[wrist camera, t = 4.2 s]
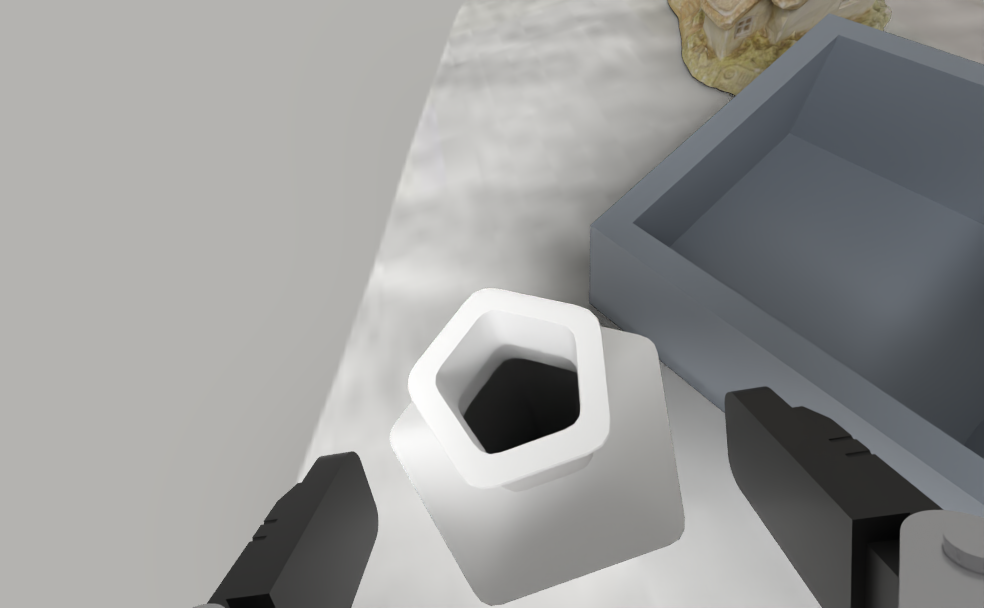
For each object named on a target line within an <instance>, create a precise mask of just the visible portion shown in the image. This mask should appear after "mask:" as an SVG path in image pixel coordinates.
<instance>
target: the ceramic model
mask: <svg viewBox="0 0 984 608" xmlns="http://www.w3.org/2000/svg"><path fill="white" fill-rule="evenodd" d="M668 3H669V5H670V7H671V8H672V10H673V11H674V12H675V14H676V15H677V16H678V18H679V29H680V31H681V39H682V58H683V60H684V62H685V64H686V65H687V67H688V69H689V71H690V73H691V74H692V76H693V77H695V78H696V79H697V80H699V81H700V82H703V83H704V84H706V85H707V86H709V87H714V88H716V87H717V88H718V89H719V90H721V91H725V92H729V93H732V94H734V95H737V94H739V93H740V92H741V91H742V90H743V89H744V88H745V87H746V86H748V85H749V84H750V83H751V82H752V81H753V80H754V79H755V78H757V77H758V76H759V75H760V74H761V73H762V72H763V71H764V70H766V69H767V68H768V67H769V66H770V65H771V64H772V63H773V62H775V61H776V60H777V59H778V58H779V57H780V56H781V55H782V54H784V53H785V52H786V51H787V50H788V49H789V48H790V47H791V46H793V45H794V44H795V43H796V42H797V41H798V40H799V39H800V38H802V37H803V36H804V35H805V34H806V33H807V32H808V31H809V30H811V29H812V28H813V27H814V26H815V25H816V24H817V23H818V22H820V21H821V20H822V19H823V18H824V17H825V16H826V15H827V14H829V13H830V14H833V15H836V16H839V17H842V18H845V19H848V20H851V21H854V22H857V23H860V24H863V25H866V26H869V27H872V28H875V29H878V30H881V31H884V26H885V25H886V24H887V23H888V22H889V20H890V18H891V10H890V7H887V5H886V4H885V1H884V0H668Z"/></svg>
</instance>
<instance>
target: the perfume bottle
mask: <svg viewBox="0 0 984 608" xmlns="http://www.w3.org/2000/svg"><path fill="white" fill-rule="evenodd" d="M408 390H409V393H410V396H411V398H412V402H411V403H410V404H409V406H408V407H407V408H406V410H405V411H404V412H403V413H402V415H401V416H400V417H399V419H398V420H397V421H396V422H395V424H394V426H393V428H392V429H391V431H390V443H391V446H392V449H393V451H394V453H395V454H396V456H397V458H398V460H399V461H400V463H401V465H402V467H403V468H404V470H405V472H406V474H407V475H408V477H409V479H410V481H411V482H412V484H413V486H414V488H415V490H416V491H417V493H418V495H419V497H420V498H421V500H422V502H423V504H424V505H425V507H426V509H427V511H428V512H429V514H430V516H431V518H432V519H433V521H434V523H435V525H436V527H437V528H438V530H439V532H440V534H441V535H442V537H443V539H444V541H445V542H446V544H447V546H448V548H449V549H450V551H451V553H452V555H453V556H454V558H455V560H456V562H457V564H458V565H459V567H460V569H461V571H462V572H463V574H464V576H465V578H466V579H467V581H468V583H469V585H470V586H471V588H472V590H473V592H474V593H475V594H476V595H477V597H478V598H479V599H480V600H481V602H484V603H486V604H488V605H491V606H493V605H501V604H505V603H507V602H510V601H513V600H516V599H519V598H521V597H524V596H527V595H530V594H533V593H536V592H538V591H541V590H544V589H547V588H550V587H553V586H555V585H558V584H561V583H564V582H567V581H569V580H572V579H575V578H578V577H581V576H584V575H586V574H589V573H592V572H595V571H598V570H601V569H603V568H606V567H609V566H612V565H615V564H618V563H620V562H623V561H626V560H629V559H632V558H634V557H637V556H640V555H643V554H646V553H649V552H651V551H654V550H657V549H660V548H663V547H666V546H668V545H671V544H672V543H674V542H675V541H677V540H679V539H680V537H681V535H682V533H683V531H684V521H685V517H684V511H683V505H682V499H681V492H680V486H679V480H678V474H677V468H676V462H675V456H674V449H673V443H672V437H671V431H670V425H669V419H668V413H667V406H666V400H665V394H664V388H663V382H662V376H661V370H660V363H659V357H658V352H657V350H656V347H655V344H654V343H653V342H652V341H651V340H649V339H648V338H646V337H644V336H641V335H638V334H633V333H629V332H624V331H620V330H615V329H611V328H606V327H602V326H600V323H599V319H598V318H597V317H596V316H595V315H594V314H593V313H592V312H591V311H590V310H588V309H585V308H583V307H580V306H577V305H574V304H569V303H564V302H559V301H555V300H550V299H545V298H540V297H536V296H531V295H526V294H522V293H517V292H512V291H507V290H503V289H495V288H484V289H482V290H479V291H476V292H474V293H473V294H472V295H471V296H470V297H469V298H468V299H467V300H466V301H465V302H464V303H463V305H462V306H461V307H460V308H459V310H458V311H457V312H456V314H455V315H454V316H453V317H452V319H451V320H450V321H449V322H448V324H447V325H446V326H445V327H444V329H443V330H442V331H441V332H440V334H439V335H438V336H437V337H436V339H435V340H434V341H433V342H432V344H431V345H430V346H429V347H428V349H427V350H426V351H425V352H424V354H423V355H422V356H421V357H420V359H419V360H418V361H417V362H416V364H415V366H414V367H413V369H412V371H411V373H410V374H409V379H408Z"/></svg>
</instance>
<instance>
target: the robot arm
mask: <svg viewBox="0 0 984 608" xmlns="http://www.w3.org/2000/svg"><path fill="white" fill-rule="evenodd" d="M724 403H725V418H726V431H727V445H728V457H729V463H730V467H731V470H732V473H733V476H734V478H735V481H736V483H737V485H738V487H739V488H740V490H741V491H742V493H743V494H744V496H745V497H746V498H747V500H748V501H749V503H750V504H751V506H752V507H753V509H754V510H755V511H756V513H757V514H758V516H759V517H760V519H761V520H762V522H763V523H764V524H765V526H766V527H767V529H768V530H769V532H770V533H771V535H772V536H773V537H774V539H775V540H776V542H777V543H778V545H779V546H780V548H781V549H782V550H783V552H784V553H785V555H786V556H787V558H788V559H789V561H790V562H791V564H792V565H793V566H794V568H795V569H796V571H797V572H798V574H799V575H800V577H801V578H802V579H803V581H804V582H805V584H806V585H807V587H808V588H809V590H810V591H811V592H812V594H813V595H814V597H815V598H816V600H817V601H818V603H819V604H820V605H821V607H822V608H984V518H983V517H979V516H976V515H972V514H968V513H963V512H958V511H949V510H943V509H942V508H941V507H940V506H938V505H937V504H936V503H935V502H933V501H932V500H931V499H930V498H929V497H927V496H926V495H925V494H924V493H922V492H921V491H920V490H919V489H917V488H916V487H915V486H914V485H913V484H911V483H910V482H909V481H908V480H906V479H905V478H904V477H903V476H901V475H900V474H899V473H898V472H896V471H895V470H894V469H893V468H892V467H890V466H889V465H888V464H887V463H885V462H884V461H883V460H882V459H880V458H879V457H878V456H877V455H876V454H871V452H870V450H869V449H868V448H867V447H866V446H864V445H863V444H862V443H861V442H859V441H858V440H857V439H853V437H852V435H851V434H850V433H848V432H847V431H846V430H845V429H843V428H842V427H841V426H840V425H838V424H837V423H836V422H835V421H834V420H832V419H831V418H829V417H826V416H824V415H822V414H820V413H817V412H815V411H813V410H810V409H808V408H806V407H804V406H800V407H793V408H792V407H791V406H790V405H789V404H788V403H786V402H785V401H784V400H783V399H782V398H781V397H780V396H779V395H777V394H776V393H775V392H774V391H773V390H772V389H770V388H769V387H767V386H763V387H756V388H750V389H744V390H738V391H731V392H727V393H726V395H725V401H724ZM377 532H378V512H377V508H376V504H375V501H374V498H373V496H372V493H371V490H370V487H369V484H368V481H367V478H366V475H365V472H364V469H363V466H362V463H361V461H360V458H359V456H358V455H357V454H356V453H355V452H346V453H340V454H333V455H327V456H321V457H319V458H318V459H317V460H316V462H315V463H314V465H313V466H312V468H311V469H310V471H309V472H308V474H307V475H306V477H305V478H304V480H303V481H302V483H298V484H296V485H295V486H294V487H293V488H292V489H291V490H290V491H289V492H287V493H286V494H285V495H284V496H283V497H282V498H281V499H280V500H278V501H277V503H276V504H275V506H274V507H273V509H272V510H271V511H270V513H269V514H268V516H267V517H266V519H265V520H264V525H261V526H260V527H259V529H258V530H257V532H256V533H255V535H254V536H253V541H252V542H249V543H248V545H247V546H246V548H245V549H244V551H243V552H242V553H241V555H240V556H239V558H238V560H237V561H236V562H235V564H234V565H233V566H232V568H231V570H230V571H229V572H228V574H227V575H226V577H225V578H224V580H223V581H222V582H221V584H220V585H219V587H218V588H217V590H216V592H215V593H214V594H213V596H212V597H211V598H210V600H209V601H208V603H207V604H203V605H200V606H197V607H193V608H351V606H352V604H353V601H354V598H355V595H356V592H357V590H358V587H359V584H360V581H361V579H362V576H363V573H364V570H365V568H366V565H367V562H368V559H369V557H370V554H371V551H372V548H373V546H374V543H375V540H376V537H377Z"/></svg>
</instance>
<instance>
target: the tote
mask: <svg viewBox="0 0 984 608" xmlns="http://www.w3.org/2000/svg"><path fill="white" fill-rule="evenodd" d="M589 303H590V304H592V305H593V306H594V307H595V308H596V309H598V310H599V311H600V312H601V313H603V314H604V315H605V316H606V317H607V318H609V319H610V320H611V321H612V322H614V323H615V324H616V325H617V326H619V327H620V328H621V329H622V330H623V331H625V332H629V333H633V334H638V335H641V336H644V337H646V338H648V339H649V340H651V341H652V342H653V343H654V344H655V347H656V350H657V352H658V357H659V360H660V361H662V362H663V363H664V364H665V365H666V366H668V367H669V368H670V369H671V370H673V371H674V372H675V373H676V374H678V375H679V376H680V377H681V378H682V379H684V380H685V381H686V382H687V383H689V384H690V385H691V386H692V387H694V388H695V389H696V390H697V391H698V392H700V393H701V394H702V395H703V396H705V397H706V398H707V399H708V400H709V401H711V402H712V403H713V404H714V405H716V406H717V407H718V408H719V409H721V410H722V411H723V412H724V413H725V403H724V401H725V395H726V393H727V392H731V391H738V390H744V389H750V388H756V387H763V386H767V387H769V388H770V389H772V390H773V391H774V392H775V393H776V394H777V395H779V396H780V397H781V398H782V399H783V400H784V401H785V402H786V403H788V404H789V405H790V406H791V407H792V408H793V407H800V406H804V407H806V408H808V409H810V410H813V411H815V412H817V413H820V414H822V415H824V416H826V417H829V418H831V419H832V420H834V421H835V422H836V423H837V424H838V425H840V426H841V427H842V428H843V429H845V430H846V431H847V432H848V433H850V434H851V435H852V437H853V439H857V440H858V441H859V442H861V443H862V444H863V445H864V446H866V447H867V448H868V449H869V450H870V452H871V454H876V455H877V456H878V457H879V458H880V459H882V460H883V461H884V462H885V463H887V464H888V465H889V466H890V467H892V468H893V469H894V470H895V471H896V472H898V473H899V474H900V475H901V476H903V477H904V478H905V479H906V480H908V481H909V482H910V483H911V484H913V485H914V486H915V487H916V488H917V489H919V490H920V491H921V492H922V493H924V494H925V495H926V496H927V497H929V498H930V499H931V500H932V501H933V502H935V503H936V504H937V505H938V506H940V507H941V508H942V509H943V510H949V511H958V512H963V513H968V514H972V515H976V516H979V517H983V518H984V65H983V64H980V63H977V62H974V61H971V60H968V59H965V58H962V57H959V56H956V55H953V54H950V53H947V52H944V51H941V50H938V49H935V48H932V47H929V46H926V45H923V44H920V43H917V42H914V41H911V40H908V39H905V38H902V37H899V36H896V35H893V34H890V33H887V32H884V31H881V30H878V29H875V28H872V27H869V26H866V25H863V24H860V23H857V22H854V21H851V20H848V19H845V18H842V17H839V16H836V15H833V14H830V13H829V14H827V15H826V16H825V17H824V18H823V19H822V20H821V21H820V22H818V23H817V24H816V25H815V26H814V27H813V28H812V29H811V30H809V31H808V32H807V33H806V34H805V35H804V36H803V37H802V38H800V39H799V40H798V41H797V42H796V43H795V44H794V45H793V46H791V47H790V48H789V49H788V50H787V51H786V52H785V53H784V54H782V55H781V56H780V57H779V58H778V59H777V60H776V61H775V62H773V63H772V64H771V65H770V66H769V67H768V68H767V69H766V70H764V71H763V72H762V73H761V74H760V75H759V76H758V77H757V78H755V79H754V80H753V81H752V82H751V83H750V84H749V85H748V86H746V87H745V88H744V89H743V90H742V91H741V92H740V93H739V94H737V95H736V96H735V97H734V98H733V99H732V100H731V101H730V102H728V103H727V104H726V105H725V106H724V107H723V108H722V109H721V110H719V111H718V112H717V113H716V114H715V115H714V116H713V117H712V118H710V119H709V120H708V121H707V122H706V123H705V124H704V125H703V126H701V127H700V128H699V129H698V130H697V131H696V132H695V133H694V134H692V135H691V136H690V137H689V138H688V139H687V140H686V141H685V142H683V143H682V144H681V145H680V146H679V147H678V148H677V149H676V150H674V151H673V152H672V153H671V154H670V155H669V156H668V157H667V158H665V159H664V160H663V161H662V162H661V163H660V164H659V165H658V166H656V167H655V168H654V169H653V170H652V171H651V172H650V173H649V174H647V175H646V176H645V177H644V178H643V179H642V180H641V181H640V182H639V183H637V184H636V185H635V186H634V187H633V188H632V189H631V190H630V191H628V192H627V193H626V194H625V195H624V196H623V197H622V198H621V199H619V200H618V201H617V202H616V203H615V204H614V205H613V206H612V207H610V208H609V209H608V210H607V211H606V212H605V213H604V214H603V215H601V216H600V217H599V218H598V219H597V220H596V221H595V222H594V223H592V224H591V228H590V290H589Z"/></svg>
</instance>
